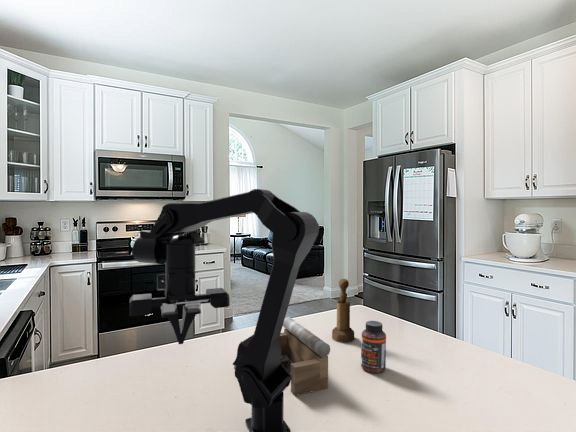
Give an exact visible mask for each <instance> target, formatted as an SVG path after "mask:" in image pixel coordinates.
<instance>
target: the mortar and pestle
mask: <svg viewBox="0 0 576 432" xmlns="http://www.w3.org/2000/svg"><path fill="white" fill-rule="evenodd" d="M338 286H339V289H340V293H339V299H340V300H337V301H336V326H335V327H334V328H333V329H332V331H331V338H332V340H333V341H335V342H339V343H351V342H354V341H355V330H354V329H352V328H351V323H350V322H351V313H350V312H351V302H350V301H349V300H347V298H348V293H347V289H348V287H349V280H348V279H347V278H341V279H339V281H338Z"/></svg>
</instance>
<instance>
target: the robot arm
mask: <svg viewBox="0 0 576 432" xmlns="http://www.w3.org/2000/svg"><path fill="white" fill-rule="evenodd" d="M250 214H254V215H256V217H257V218H258V220H259V221H260V222H261V224H262V225H263V226H264V227H266V229H268V230H269V231H271V233H272V237H271V249H272V255H273V256H272V257H273V261H272V262H273V263H272V267H271V271H270V274H269V278H268V282H267V284H266V289H265V292H264V295H263V296H264V297H263V300H262V303H261V307H260V310H259V314H258V317H257V321H256V324H255V329H254V332H253V334H252V335H250V336H248V338H246V339H244V340H243V341H242V342H241V341H240V342H241V343H239V344H238V347H237V350H236V351H237V352H236V357H235V359H234V361H233V362H232V366H234V365H236V367H235V369H234V377H235V378H236V380H237V382H238V385H239V389H240V392H241V395H242V399H243V402H244V403H246V404H249V406H250V405H251V417H248V418H245V422H244V423H245V425H246V426H247V428H248V431H249V432H291V431H292V430H291V428H290V427H289V425H288V424H287V422H286V421H285V420H284V406H285V405H284V396H285V395H284V391H285V390H286V389H287V388H288V387H289V386H290V385H291V379H292V376H291V372H290V371H288V368H287V369H286V368H285V367H284V365H283V364H282V363H281V362H280V359H281V346H280V340H279V338H280V333H282V330H283V323H284V319H285V318H286V316H287V312H288V309H289V305H290V301H291V298H292V295H293V291H294V287H295V284H296V282H297V281H296V280H297V276H298V274H299V270H300V267H301V265H302V263H303V261H304V260H305V259H306V257H307V255H308V254H309V253H310V251H311V249H312V247H313V246H314V243H315V241H316V239H317V237H318V235H319V231H320V224H319V223H318V221H317V218H315V216H313V214H311V213H309V212H306V211H300V210H299V209H298V208H297V207H294V206H293V205H291V204H290V203H288V202H286V201H285V200H283V199H281V198H280V197H278V196H277V195H275V194H274V193H273V192H272V191H270V190H268V189H262V188H254V189H251V190H249V191H245V192H242V193H237V194H233V195H229V196H224V197H221V198H216V199H212V200H207V201H203V202H196V203H195V202H192V203H191V202H190V203H189V202H188V203H187V202H183V203H182V202H180V203H178V202H175V203H172V202H169V203H166V204H164V205H163V206H162V208H161V211H160V214H159V215H158V217H157V219H156V221H155V223H154V224H153V226H152V228H151V229H150V230H140V231H139V237H137V238H136V239H135V241H134V243H133V244H132V245H133V246H132V248H131V255H132V257H133V259H134V260H135V261H136V262H138V263H142V264H151V265H152V264H154V265H155V264H156V265H164V264H165V271H164V272H165V273H161V274H156V290H157V291H164V296H165V297H163V296H162V297H153V298H152V293H142V294H139V293H138V294H132V295H131V297H130V298H129V303H128V316H129V317H140V316H148V315H149V314H150V313H151V312H152V310H153V309H159V308H160V312H161V317H162V318H163V319H164V318H167V319H168V322H169V323H170V325H171V326H172V329H173V331H174V334H175V336H176V337H175V338H176V340H177V344H178V345H183V344H184V343H185V340H186V337H187V334H188V331H189V329H190V327H191V324H192V323H193V321H194V319H195V317H196V315H201V313H202V310H201V308H200V307H201V304H210V306H211V307H213V308H214V309H219V308H228V307H230V302H231V301H230V294H229V293H228V292H227V291H226V290H225V289H224V288H223V287H217V288H214V287H213V288H206V290H205V293H200V294H196V245H201V244H205V239H204V238H203V237H202V236H200V235H199V234H198V232H197V231H196V230H199V229H200V228H203V227H205V226H207V225H208V224H210V223H211V222H215V221H220V220H224V219H231V218H234V217H240V216H243V215H244V216H245V215H250ZM186 233H187V234H186ZM181 306H182V319H181V325H180V319H179V312H178V310H177V308H178V307H181ZM180 326H181V327H180Z"/></svg>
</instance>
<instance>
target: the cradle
mask: <svg viewBox="0 0 576 432" xmlns="http://www.w3.org/2000/svg"><path fill="white" fill-rule="evenodd" d="M283 327H284V329H283V332H281V333H280V338H279V340H280V346H281V352H282V353H284V354H286V355H287V356H288V357H289V361H290V362H291V363H290V374H291V376H292V379H291V381H290V392H291V393H292V395H293V396H294V397H295V396H296V397H297V396H300V395H305V394H308V393H314V392H317V391H322V390H323V391H324V390H325V389H329V356H328V355H330V353H331V346H330V345H329V344H328V343H327V342H325V341H324V340H323V339H321V338H320V337H319V336H317V335H315V334H314V333H312V332H311V331H310V330H308V329H307V328H306V327H304V326H303V325H301V324H300V323H298V322H297V321H296V320H294V319H293V318H292V317H289V316H287V317H286V316H285V319H284V323H283V326H282V328H283Z"/></svg>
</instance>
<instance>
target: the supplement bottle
mask: <svg viewBox="0 0 576 432" xmlns="http://www.w3.org/2000/svg"><path fill="white" fill-rule="evenodd" d="M360 341H361V343H360V344H361V345H360V349H361V350H360V367H361V368H362V370H364V371H365V372H367V373H372V374H380V373H382V372H384V371H385V370H386V365H387V363H386V361H387V334H386V332H385V331H384V330H383V323H382V322H381V321H378V320H368V321H366V322H365V329H363V330H362V332H361V339H360Z"/></svg>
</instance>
